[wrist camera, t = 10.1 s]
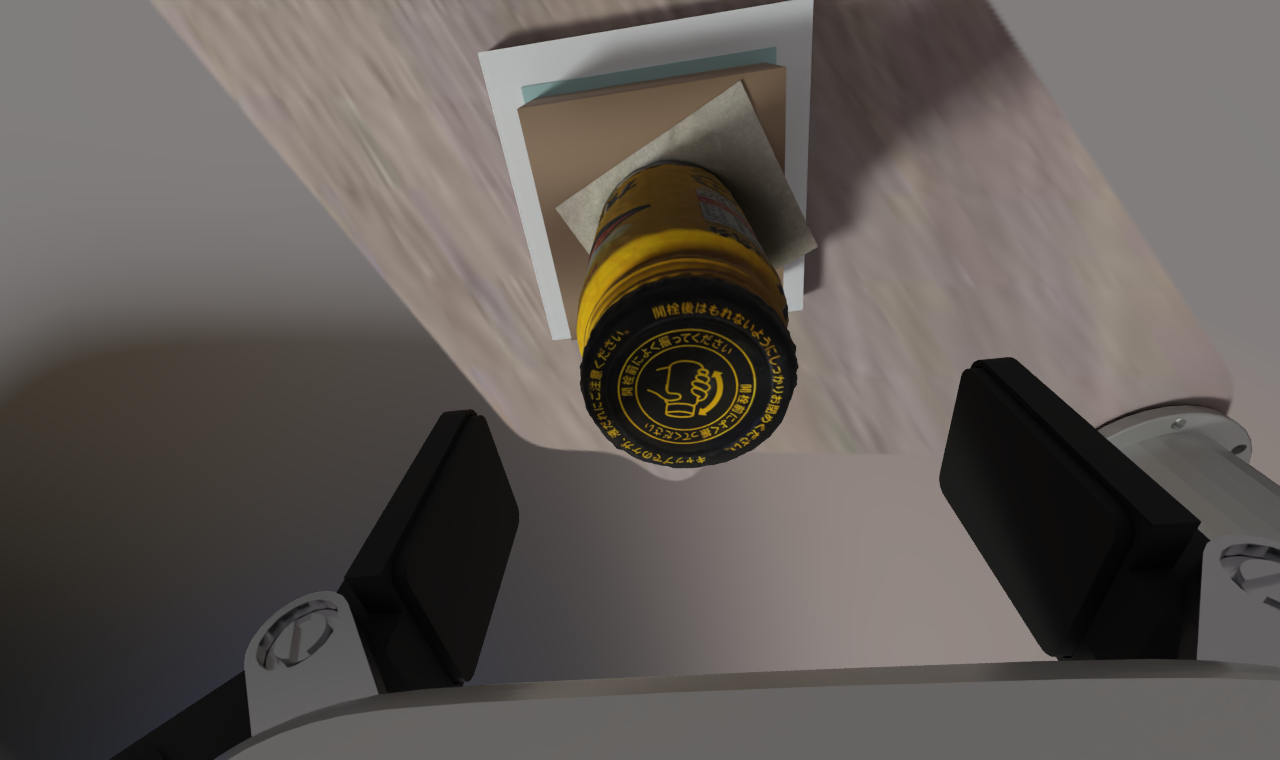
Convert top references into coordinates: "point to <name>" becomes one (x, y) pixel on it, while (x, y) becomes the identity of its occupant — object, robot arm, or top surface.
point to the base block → (625, 143)
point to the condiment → (689, 290)
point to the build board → (644, 57)
